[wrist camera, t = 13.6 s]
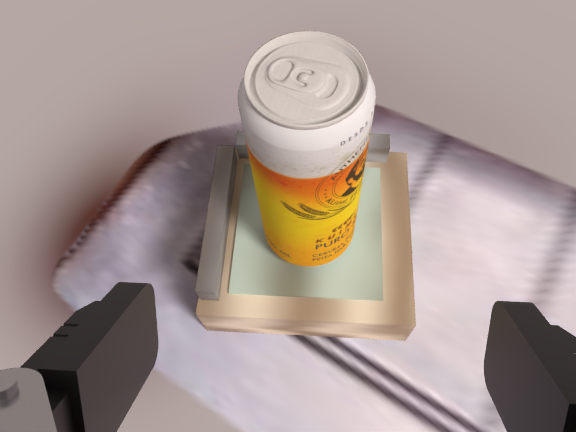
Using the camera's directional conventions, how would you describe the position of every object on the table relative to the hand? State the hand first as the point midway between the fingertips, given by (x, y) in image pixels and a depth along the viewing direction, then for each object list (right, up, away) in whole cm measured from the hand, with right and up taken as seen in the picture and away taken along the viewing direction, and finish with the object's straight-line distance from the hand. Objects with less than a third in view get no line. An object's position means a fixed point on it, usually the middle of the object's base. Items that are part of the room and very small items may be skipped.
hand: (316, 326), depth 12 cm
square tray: (+1, 0, +26) cm, 26 cm away
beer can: (+1, +2, +23) cm, 23 cm away
